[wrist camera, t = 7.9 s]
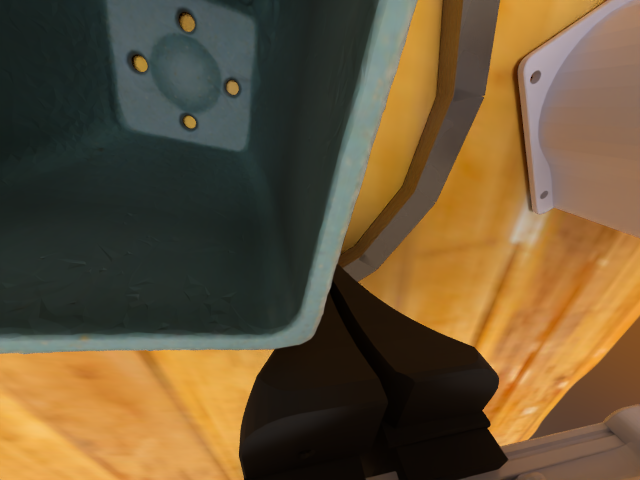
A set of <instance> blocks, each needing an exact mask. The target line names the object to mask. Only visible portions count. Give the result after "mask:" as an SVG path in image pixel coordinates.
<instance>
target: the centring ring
mask: <svg viewBox="0 0 640 480" xmlns="http://www.w3.org/2000/svg"><path fill="white" fill-rule="evenodd" d="M499 3H500V0H444V1H443V15H442V29H441V44H440V58H439V72H438V87H437V97H436V100H435V102H434V105H433V108H432V110H431V113H430V115H429V118H428V121H427V123H426V126H425V129H424V131H423V134H422V137H421V139H420V142H419V145H418V147H417V150H416V152H415V155H414V158H413V160H412V163H411V166H410V168H409V171H408V174H407V176H406V179H405V182H404V184H403V186H402V188H401V189H400V190H399V191H398V193H397V194H396V195H395V196H394V198H393V199H392V200H391V201H390V203H389V204H388V205H387V206H386V208H385V209H384V210H383V211H382V213H381V214H380V215H379V216H378V218H377V219H376V220H375V221H374V223H373V224H372V225H371V226H370V228H369V229H368V230H367V231H366V232H365V234H364V235H363V236H362V237H361V239H360V240H359V241H358V242H357V244H356V245H355V246H354V247H352V248H351V249H349V250H347V251H346V252H344V253H343V254H341V255H340V256H339V259H338V264H339V265H340V266H341V267H342V268H343V269H344V270H345V271H346V272H347V273H348V274H349V275H350V276H351V277H352V278H353V279H355V280H356V281H357V282H358V281H360V280H361V279H363V278H365V277H366V276H368V275H369V274H371V273H373V272H374V271H376V270H377V269H378V268H379V267H380V266H381V264H382V263H383V262H384V261H385V260H386V259H387V258H388V257H389V255H390V254H391V253H392V252H393V251H394V250H395V249H396V247H397V246H398V245H399V244H400V243H401V242H402V241H403V239H404V238H405V237H406V236H407V235H408V234H409V233H410V232H411V230H412V229H413V228H414V227H415V226H416V225H417V224H418V222H419V221H420V220H421V219H422V218H423V217H424V216H425V214H426V213H427V212H428V211H429V210H430V209H431V208H432V207H433V205H434V204H435V202H436V201H437V199H438V197H439V195H440V193H441V190H442V188H443V186H444V184H445V182H446V180H447V177H448V175H449V173H450V171H451V169H452V166H453V164H454V162H455V160H456V158H457V155H458V153H459V151H460V149H461V147H462V145H463V142H464V140H465V138H466V136H467V134H468V131H469V129H470V127H471V125H472V123H473V120H474V118H475V116H476V114H477V112H478V110H479V107H480V105H481V103H482V101H483V99H484V97H482V96H484V95H485V91H486V84H487V78H488V72H489V66H490V59H491V53H492V47H493V41H494V34H495V28H496V22H497V15H498V9H499ZM433 201H434V202H433ZM375 269H376V270H375Z"/></svg>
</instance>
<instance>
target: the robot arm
mask: <svg viewBox="0 0 640 480" xmlns="http://www.w3.org/2000/svg"><path fill="white" fill-rule="evenodd" d="M532 74H533V78H532V80H531V82H530V79H531V76H532ZM518 82H519V91H520V100H521V110H522V119H523V128H524V137H525V146H526V156H527V165H528V174H529V183H530V192H531V201H532V210H533V212H535V213H537V214H543V213H546V212H547V211H549V210H551V209H553V208H557V209H559V210H562V211H565V212H568V213H571V214H573V215H576V216H579V217H582V218H585V219H588V220H590V221H593V222H596V223H599V224H602V225H604V226H607V227H610V228H613V229H616V230H619V231H621V232H624V233H627V234H630V235H633V236H635V237H638V238H640V0H607V1H606V2H604V3H603V4H601V5H600V6H598V7H597V8H595V9H594V10H593V11H591V12H590V13H588V14H587V15H585V16H584V17H582V18H581V19H579V20H578V21H576V22H575V23H574V24H572V25H571V26H569V27H568V28H566V29H565V30H563V31H562V32H560V33H559V34H557V35H556V36H555V37H553V38H552V39H550V40H549V41H547V42H546V43H544V44H543V45H541V46H540V47H538V48H537V49H536V50H534V51H533V52H531V53H530V54H528V55H527V56H526V57H525V58H524V59H523V60H522V61H521V63H520V65H519V67H518ZM498 384H499V377H498V375H497V373H496V372H495V371H494V370H493V368H492V367H491V366H490V365H489V364H488V363H487V361H486V360H485V359H484V358H483V357H482V355H481V354H480V353H479V352H478V351H477V350H476V349H475V348H474V347H473V346H470V345H468V344H465V343H463V342H460V341H458V340H455V339H453V338H450V337H448V336H445V335H443V334H441V333H438V332H436V331H434V330H432V329H430V328H428V327H426V326H424V325H422V324H420V323H418V322H416V321H414V320H412V319H410V318H409V317H407V316H405V315H403V314H401V313H400V312H398V311H396V310H395V309H393V308H392V307H390V306H388V305H387V304H386V303H384V302H383V301H381V300H380V299H378V298H377V297H375V296H374V295H373V294H371V293H370V292H369V291H368V290H366V289H365V288H364V287H363V286H361V285H360V284H359V283H358V282H357V281H356V280H355V279H353V278H352V277H351V276H350V275H349V274H348V273H347V272H346V271H345V270H344V269H343V268H342V267H341V266H340V265H339V264H338V263H337V265H336V268H335V272H334V275H333V279H332V283H331V288H330V290H329V293H328V295H327V299H326V303H325V307H324V313H323V315H322V317H321V320H320V323H319V325H318V327H317V330H316V332H315V334H314V336H313V337H312V338H311V339H310V340H308V341H306V342H304V343H302V344H300V345H294V346H288V347H283V348H277V349H274V351H273V353H272V354H271V356H270V357H269V359H268V360H267V362H266V363H265V365H264V366H263V368H262V369H261V371H260V372H259V374H258V375H257V377H256V380H255V383H254V385H253V388H252V391H251V393H250V396H249V399H248V402H247V405H246V408H245V412H244V415H243V420H242V425H241V432H240V447H239V458H240V462H241V467H242V471H243V475H244V480H640V404H637V405H633V406H628V407H624V408H621V409H619V410H617V411H615V412H613V413H612V414H610V415H609V416H608V417H607V418H606V419H605V420H604V422H602V423H599V424H594V425H590V426H585V427H581V428H577V429H573V430H569V431H564V432H560V433H556V434H552V435H547V436H543V437H539V438H535V439H530V440H526V441H522V442H517V443H513V444H509V445H505V446H499V445H498V443H497V442H496V440H495V439H494V437H493V436H492V434H491V433H490V431H489V430H488V427H490V425H491V424H490V421H489V420H488V418H487V417H486V415H485V414H484V412H483V411H482V410H483V409H484V407H485V406H486V405H487V403H488V402H489V401H490V399H491V398H492V397H493V395H494V394H495V392H496V390H497V388H498Z"/></svg>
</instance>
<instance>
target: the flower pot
mask: <svg viewBox="0 0 640 480" xmlns="http://www.w3.org/2000/svg"><path fill="white" fill-rule="evenodd" d="M416 3H417V0H0V354H1V353H20V354H30V353H51V352H67V351H107V350H148V351H153V350H207V349H209V350H211V349H215V350H259V349H270V350H271V349H277V348H283V347H288V346H294V345H300V344H302V343H304V342H306V341H308V340H310V339H311V338H312V337H313V336H314V334H315V332H316V330H317V327H318V325H319V323H320V320H321V317H322V315H323V313H324V307H325V303H326V299H327V295H328V293H329V290H330V288H331V283H332V279H333V275H334V272H335V268H336V265H337V263H338V259H339V256H340V254H341V248H342V245H343V241H344V238H345V235H346V232H347V229H348V226H349V223H350V219H351V215H352V213H353V209H354V205H355V202H356V200H357V197H358V195H359V192H360V188H361V185H362V181H363V178H364V175H365V171H366V168H367V164H368V160H369V156H370V152H371V148H372V145H373V143H374V140H375V137H376V133H377V131H378V128H379V125H380V121H381V116H382V113H383V111H384V110H385V106H386V102H387V98H388V94H389V91H390V88H391V85H392V82H393V79H394V77H395V74H396V71H397V68H398V64H399V60H400V56H401V53H402V50H403V47H404V45H405V42H406V38H407V34H408V30H409V26H410V22H411V19H412V16H413V13H414V10H415V6H416ZM182 12H187V13H189V14H190V15H191V16H192V17H193V19H194V21H195V28H194V29H193V30H192V31H191V32H186V31H184V30H183V29H182V28H181V26H180V24H179V15H180V14H181V13H182ZM136 54H139V55H141V56H142V57H143V58H144V59H145V60H146V62H147V65H148V68H147V70H146V71H145V72H139V71H137V70H136V69H135V68H134V67H133V65H132V61H131V60H132V57H133V56H134V55H136ZM228 80H234V81H236V82H237V83H238V86H239V91H238V93H237V94H236V95H231V94H230V93H228V92H227V90H226V83H227V81H228ZM186 115H190V116H192V117H193V118H194V119H195V121H196V127H195V128H193V129H189V128H187V127H186V126H185V125H184V124H183V118H184V116H186Z"/></svg>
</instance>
